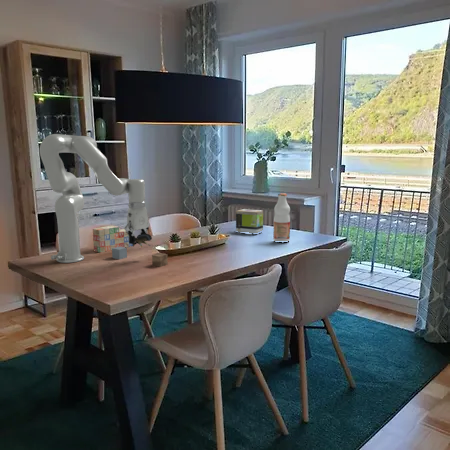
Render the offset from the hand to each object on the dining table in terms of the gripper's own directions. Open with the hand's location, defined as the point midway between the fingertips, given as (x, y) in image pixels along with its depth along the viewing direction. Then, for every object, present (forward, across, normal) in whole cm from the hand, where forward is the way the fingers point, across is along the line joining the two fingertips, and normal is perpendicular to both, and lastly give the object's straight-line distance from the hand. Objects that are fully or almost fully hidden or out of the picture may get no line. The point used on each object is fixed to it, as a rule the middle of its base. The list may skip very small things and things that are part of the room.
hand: (137, 241), depth 211 cm
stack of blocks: (+10, +13, +30) cm, 35 cm away
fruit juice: (+9, +77, -39) cm, 87 cm away
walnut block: (+9, 0, -13) cm, 16 cm away
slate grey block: (+10, 0, +13) cm, 16 cm away
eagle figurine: (+3, +2, 0) cm, 3 cm away
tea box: (+9, +91, -10) cm, 92 cm away
